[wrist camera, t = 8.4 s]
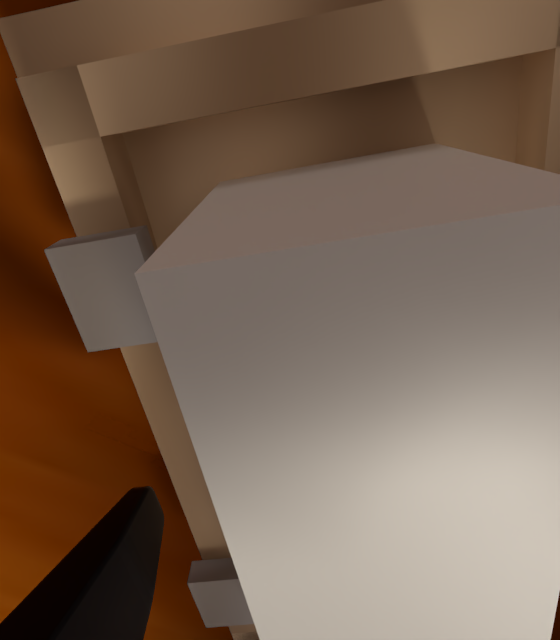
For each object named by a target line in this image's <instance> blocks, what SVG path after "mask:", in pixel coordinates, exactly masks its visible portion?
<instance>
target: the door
mask: <svg viewBox="0 0 560 640" xmlns="http://www.w3.org/2000/svg"><path fill="white" fill-rule="evenodd" d="M134 274H135V277H136V280H137V283H138V286H139V289H140V292H141V295H142V298H143V301H144V303H145V306H146V309H147V312H148V315H149V318H150V321H151V324H152V327H153V330H154V333H155V336H156V338H157V341H158V344H159V347H160V350H161V353H162V356H163V359H164V362H165V365H166V368H167V371H168V374H169V376H170V379H171V382H172V385H173V388H174V391H175V394H176V397H177V400H178V403H179V406H180V409H181V411H182V414H183V417H184V420H185V423H186V426H187V429H188V432H189V435H190V438H191V441H192V444H193V447H194V449H195V452H196V455H197V458H198V461H199V464H200V467H201V470H202V473H203V476H204V479H205V482H206V484H207V487H208V490H209V493H210V496H211V499H212V502H213V505H214V508H215V511H216V514H217V517H218V519H219V522H220V525H221V528H222V531H223V534H224V537H225V540H226V543H227V546H228V549H229V552H230V555H231V557H232V560H233V563H234V566H235V569H236V572H237V575H238V578H239V581H240V584H241V587H242V590H243V592H244V595H245V598H246V601H247V604H248V607H249V610H250V613H251V616H252V619H253V622H254V625H255V627H256V630H257V633H258V636H259V639H260V640H551V635H552V629H553V624H554V619H555V613H556V608H557V603H558V597H559V592H560V174H556V173H552V172H548V171H544V170H540V169H536V168H532V167H528V166H524V165H520V164H516V163H512V162H508V161H504V160H500V159H496V158H492V157H488V156H484V155H480V154H476V153H472V152H468V151H464V150H460V149H456V148H452V147H448V146H444V145H440V144H436V143H434V144H428V145H422V146H417V147H411V148H406V149H400V150H395V151H389V152H383V153H378V154H372V155H367V156H361V157H356V158H350V159H344V160H339V161H333V162H328V163H322V164H316V165H311V166H305V167H300V168H294V169H289V170H283V171H277V172H272V173H266V174H261V175H255V176H250V177H244V178H238V179H233V180H227V181H222V182H219V183H218V185H217V186H216V187H215V188H214V189H213V190H212V191H211V192H210V193H209V194H208V195H207V196H206V197H205V198H204V200H203V201H202V202H201V203H200V204H199V205H198V206H197V207H196V208H195V209H194V210H193V211H192V212H191V213H190V215H189V216H188V217H187V218H186V219H185V220H184V221H183V222H182V223H181V224H180V225H179V226H178V227H177V228H176V230H175V231H174V232H173V233H172V234H171V235H170V236H169V237H168V238H167V239H166V240H165V241H164V242H163V243H162V245H161V246H160V247H159V248H158V249H157V250H156V251H155V252H154V253H153V254H152V255H151V256H150V257H149V258H148V260H147V261H146V262H145V263H144V264H143V265H142V266H141V267H140V268H139V269H138V270H137V271H136V272H135V273H134Z"/></svg>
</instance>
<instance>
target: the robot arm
mask: <svg viewBox="0 0 560 640" xmlns="http://www.w3.org/2000/svg"><path fill="white" fill-rule="evenodd" d="M163 526H164V515H163V511H162V508H161V506H160V504H159V501H158V499H157V496H156V494H155V492H154V490H153V488H152V487H149V486H145V487H136V488H132V489H131V490H129V491H128V492H127V493H126V494H125V495H124V496H123V498H122V499H121V500H120V501H119V502H118V503H117V504H116V505H115V506H114V507H113V508H112V509H111V510H110V511H109V512H108V513H107V514H106V515H105V516H104V517H103V518H102V519H101V520H100V521H99V522H98V523H97V524H96V525H95V526H94V527H93V528H92V529H91V531H90V532H89V533H88V534H87V535H86V536H85V537H84V538H83V539H82V540H81V541H80V542H79V543H78V544H77V545H76V546H75V547H74V548H73V549H72V550H71V551H70V552H69V553H68V554H67V555H66V556H65V557H64V558H63V559H62V560H61V561H60V563H59V564H58V565H57V566H56V567H55V568H54V569H53V570H52V571H51V572H50V573H49V574H48V575H47V576H46V577H45V578H44V579H43V580H42V581H41V582H40V583H39V584H38V585H37V586H36V587H35V588H34V589H33V590H32V591H31V592H30V593H29V594H28V596H27V597H26V598H25V599H24V600H23V601H22V602H21V603H20V604H19V605H18V606H17V607H16V608H15V609H14V610H13V611H12V612H11V613H10V614H9V615H8V616H7V617H6V618H5V619H4V620H3V621H2V622H1V623H0V640H143V638H144V634H145V630H146V626H147V622H148V618H149V614H150V609H151V605H152V600H153V595H154V589H155V582H156V575H157V568H158V561H159V554H160V547H161V540H162V533H163Z"/></svg>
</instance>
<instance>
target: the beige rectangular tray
mask: <svg viewBox="0 0 560 640" xmlns="http://www.w3.org/2000/svg"><path fill="white" fill-rule="evenodd" d="M0 33H1V36H2V38H3V41H4V44H5V46H6V49H7V51H8V54H9V56H10V59H11V62H12V64H13V67H14V69H15V72H16V75H17V77H18V78H15V79H16V82H17V84H18V87H19V90H20V92H21V95H22V97H23V100H24V102H25V105H26V108H27V110H28V113H29V115H30V118H31V120H32V123H33V126H34V128H35V131H36V133H37V136H38V138H39V141H40V144H41V146H42V149H43V151H44V154H45V156H46V159H47V162H48V164H49V167H50V169H51V172H52V174H53V177H54V180H55V182H56V185H57V187H58V190H59V192H60V195H61V198H62V200H63V203H64V205H65V208H66V210H67V213H68V216H69V218H70V221H71V223H72V226H73V228H74V231H75V233H76V236H77V237H74V238H68V239H63V240H60V241H58V242H56V243H55V244H53V245H51V246H49V247H48V248H46V249H44V251H45V254H46V256H47V258H48V261H49V263H50V265H51V268H52V270H53V272H54V275H55V277H56V279H57V282H58V284H59V286H60V289H61V291H62V293H63V296H64V298H65V300H66V303H67V305H68V307H69V310H70V312H71V314H72V316H73V319H74V321H75V323H76V326H77V328H78V330H79V333H80V335H81V337H82V340H83V342H84V344H85V347H86V349H87V351H88V352H93V351H100V350H106V349H113V348H120V349H121V352H122V354H123V357H124V359H125V362H126V365H127V367H128V370H129V372H130V375H131V377H132V380H133V383H134V385H135V388H136V390H137V393H138V395H139V398H140V401H141V403H142V406H143V408H144V411H145V413H146V416H147V419H148V421H149V424H150V426H151V429H152V431H153V434H154V436H155V439H156V442H157V444H158V447H159V449H160V452H161V454H162V457H163V460H164V462H165V465H166V467H167V470H168V472H169V475H170V478H171V480H172V483H173V485H174V488H175V490H176V493H177V496H178V498H179V501H180V503H181V506H182V508H183V511H184V514H185V516H186V519H187V521H188V524H189V526H190V529H191V532H192V534H193V537H194V539H195V542H196V544H197V547H198V550H199V552H200V555H201V557H202V560H201V561H192V563H191V568H190V573H189V577H188V582H187V584H188V587H189V589H190V591H191V594H192V596H193V598H194V600H195V603H196V605H197V607H198V610H199V612H200V614H201V617H202V619H203V621H204V624H205V626H206V628H210V627H222V626H228V627H229V629H230V632H231V634H232V637H233V640H260V639H259V636H258V633H257V630H256V627H255V625H254V622H253V619H252V616H251V613H250V610H249V607H248V604H247V601H246V598H245V595H244V592H243V590H242V587H241V584H240V581H239V578H238V575H237V572H236V569H235V566H234V563H233V560H232V557H231V555H230V552H229V549H228V546H227V543H226V540H225V537H224V534H223V531H222V528H221V525H220V522H219V519H218V517H217V514H216V511H215V508H214V505H213V502H212V499H211V496H210V493H209V490H208V487H207V484H206V482H205V479H204V476H203V473H202V470H201V467H200V464H199V461H198V458H197V455H196V452H195V449H194V447H193V444H192V441H191V438H190V435H189V432H188V429H187V426H186V423H185V420H184V417H183V414H182V411H181V409H180V406H179V403H178V400H177V397H176V394H175V391H174V388H173V385H172V382H171V379H170V376H169V374H168V371H167V368H166V365H165V362H164V359H163V356H162V353H161V350H160V347H159V344H158V341H157V338H156V336H155V333H154V330H153V327H152V324H151V321H150V318H149V315H148V312H147V309H146V306H145V303H144V301H143V298H142V295H141V292H140V289H139V286H138V283H137V280H136V277H135V274H134V273H135V272H136V271H137V270H138V269H139V268H140V267H141V266H142V265H143V264H144V263H145V262H146V261H147V260H148V258H149V257H150V256H151V255H152V254H153V253H154V252H155V251H156V250H157V249H158V248H159V247H160V246H161V245H162V243H163V242H164V241H165V240H166V239H167V238H168V237H169V236H170V235H171V234H172V233H173V232H174V231H175V230H176V228H177V227H178V226H179V225H180V224H181V223H182V222H183V221H184V220H185V219H186V218H187V217H188V216H189V215H190V213H191V212H192V211H193V210H194V209H195V208H196V207H197V206H198V205H199V204H200V203H201V202H202V201H203V200H204V198H205V197H206V196H207V195H208V194H209V193H210V192H211V191H212V190H213V189H214V188H215V187H216V186H217V185H218V183H219V182H222V181H227V180H233V179H238V178H244V177H250V176H255V175H261V174H266V173H272V172H277V171H283V170H289V169H294V168H300V167H305V166H311V165H316V164H322V163H328V162H333V161H339V160H344V159H350V158H356V157H361V156H367V155H372V154H378V153H383V152H389V151H395V150H400V149H406V148H411V147H417V146H422V145H428V144H434V143H436V144H440V145H444V146H448V147H452V148H456V149H460V150H464V151H468V152H472V153H476V154H480V155H484V156H488V157H492V158H496V159H500V160H504V161H508V162H512V163H516V164H520V165H524V166H528V167H532V168H536V169H540V170H544V171H548V172H552V173H556V174H560V0H79V1H74V2H70V3H65V4H61V5H57V6H52V7H48V8H43V9H39V10H35V11H30V12H26V13H21V14H17V15H13V16H8V17H4V18H0Z"/></svg>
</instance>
